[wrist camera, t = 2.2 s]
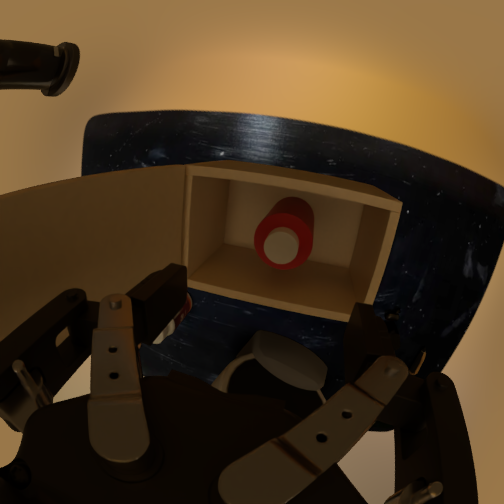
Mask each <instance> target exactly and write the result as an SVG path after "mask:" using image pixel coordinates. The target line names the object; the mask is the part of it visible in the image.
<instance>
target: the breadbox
mask: <svg viewBox="0 0 504 504" xmlns="http://www.w3.org/2000/svg"><path fill="white" fill-rule="evenodd" d="M286 197H298V198H301V199H303V200H305V201H306V202H307V203H308V204H309V205H310V206H311V208H312V210H313V213H314V233H313V247H312V251H311V254H310V256H309V257H308V259H307V260H306V261H305V262H304V263H303V264H301V265H300V266H298V267H296V268H293V269H288V270H281V269H276V268H273V267H271V266H269V265H267V264H266V263H265V262H263V261H262V260H261V258H260V257H259V256H258V254H257V252H256V250H255V246H254V234H255V231H256V228H257V227H258V225H259V224H260V222H261V221H262V220H263V219H264V218H265V216H266V215H267V214H268V213H269V211H270V210H271V209H272V208H273V207H274V205H275V204H276V203H277V202H278V201H280V200H281V199H283V198H286ZM401 208H402V202H400V201H399V200H397V199H395V198H394V197H392V196H390V195H389V194H387V193H385V192H384V191H382V190H380V189H378V188H377V187H375V186H373V185H369V184H365V183H361V182H356V181H352V180H347V179H343V178H338V177H333V176H329V175H324V174H318V173H313V172H308V171H302V170H296V169H291V168H284V167H278V166H272V165H265V164H258V163H250V162H242V161H234V160H221V161H211V162H202V163H193V164H185V176H184V190H183V207H182V230H181V265H184V266H186V267H187V287H191V288H194V289H198V290H202V291H206V292H210V293H214V294H218V295H222V296H226V297H230V298H235V299H239V300H243V301H247V302H252V303H256V304H260V305H265V306H269V307H274V308H279V309H283V310H288V311H293V312H298V313H303V314H308V315H313V316H318V317H323V318H328V319H334V320H339V321H345V322H348V321H349V318H350V316H351V313H352V310H353V307H354V305H355V303H356V302H360V303H366V304H371V305H372V304H373V301H374V299H375V296H376V293H377V290H378V287H379V285H380V282H381V279H382V276H383V273H384V270H385V266H386V263H387V260H388V257H389V253H390V250H391V246H392V243H393V239H394V236H395V232H396V228H397V224H398V220H399V216H400V212H401Z"/></svg>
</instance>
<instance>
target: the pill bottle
mask: <svg viewBox="0 0 504 504" xmlns="http://www.w3.org/2000/svg"><path fill="white" fill-rule="evenodd" d="M191 308H192V299H191V297H190V295H189V293H188V292H187V299H186V302H185V305H184V306H183V307H182V309H181V310H180V311H179V312H178V313H177V315H176V316H175V317H174V318H173V319H172V320H171V322H170V323H169V324H168V325H167V326H166V328H165V329H164V330H163V331H162V332H161V334H160V335H159V336H158V337H157V338H156V340H155V341H154V342H153V343H154V344H158V343H160V342H162V341H163V340H164V338H165V337H166V336H168V335H170V334H172V333H173V332H174V330H175V329H176V328H177V326H178V325H179V324H180V323H181V321H182V320H183V319H184V318H185V316H186V315H187V314H188V312H189V311H190V310H191Z"/></svg>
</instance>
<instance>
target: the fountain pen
mask: <svg viewBox="0 0 504 504" xmlns="http://www.w3.org/2000/svg"><path fill="white" fill-rule="evenodd" d="M425 352H426V350H425V348H424V349H422V350H421V352H420V353H419V354H418V356H417V358H416V359H415V361H414V363H413V364H412V366H411V368H410V370H409V371H408V372H409V373H408V374H410V375H412V376H414V374H417V372H418V370H419V368H420V367H421V365H422V363H423V361H424V358H425V356H426V353H425Z"/></svg>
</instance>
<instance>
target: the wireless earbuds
mask: <svg viewBox="0 0 504 504" xmlns="http://www.w3.org/2000/svg"><path fill="white" fill-rule="evenodd" d="M395 310H396V311H395V312H387V313H386V314H385V319H386V320H388V321H390V322H386V325H387V329H388V333H389V335H390V339H391V342H392V345H393V349H394V350H397V349H398V348H399V347H400V336H399V333H398V330H397V327H396V324H395V323H394V322H393V321H397V320H398V319H399V314H398V312H399V313H400V308H397V309H395Z"/></svg>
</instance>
